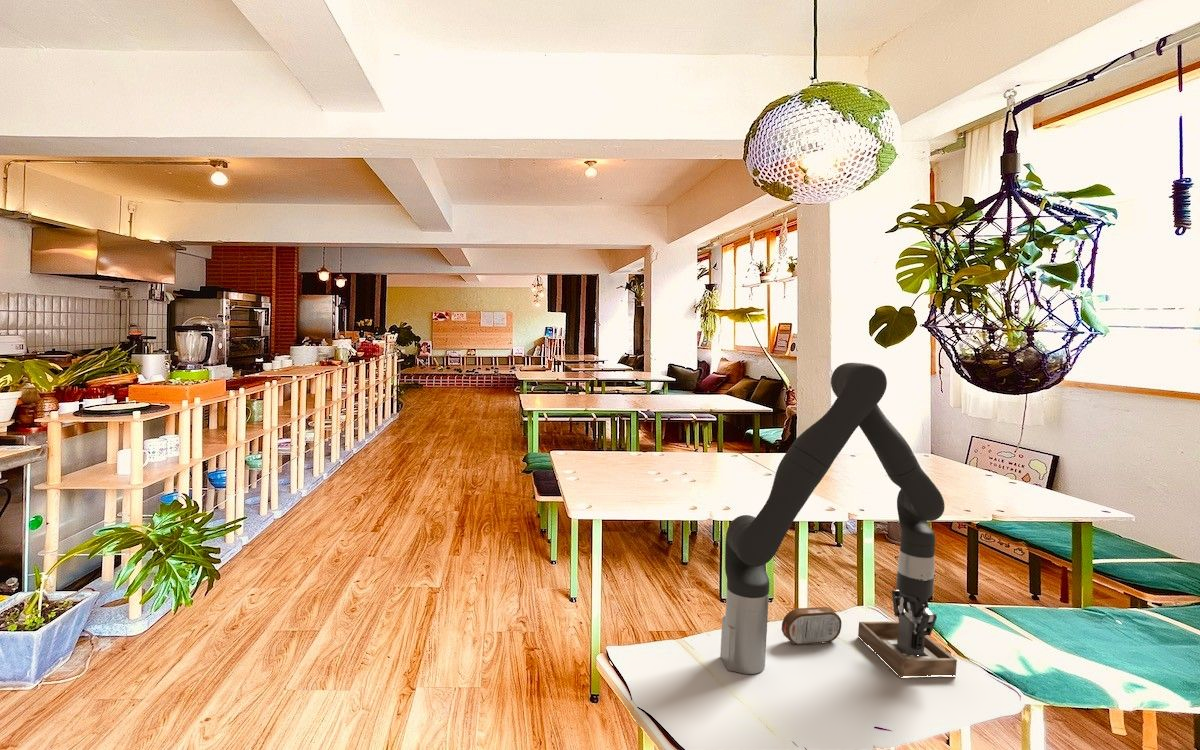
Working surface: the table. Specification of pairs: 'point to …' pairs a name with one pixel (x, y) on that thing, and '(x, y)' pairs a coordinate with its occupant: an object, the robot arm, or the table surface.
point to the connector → (907, 635)
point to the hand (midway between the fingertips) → (910, 643)
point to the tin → (811, 625)
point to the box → (885, 645)
